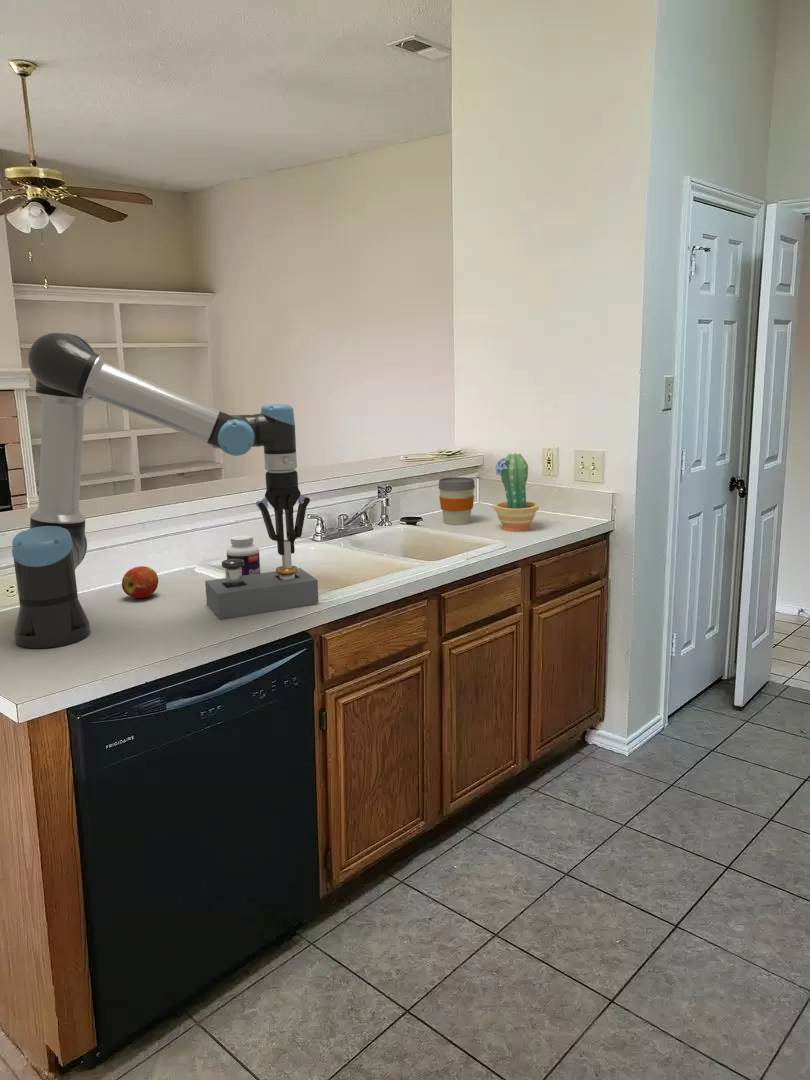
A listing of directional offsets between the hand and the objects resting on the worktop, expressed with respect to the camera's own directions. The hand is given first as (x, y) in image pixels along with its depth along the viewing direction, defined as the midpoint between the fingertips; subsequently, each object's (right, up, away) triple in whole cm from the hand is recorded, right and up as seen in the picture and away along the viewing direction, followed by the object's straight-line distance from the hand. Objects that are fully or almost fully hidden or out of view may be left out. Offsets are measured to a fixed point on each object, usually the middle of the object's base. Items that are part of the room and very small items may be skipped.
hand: (287, 567), depth 204 cm
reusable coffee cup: (+47, +12, +89) cm, 101 cm away
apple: (-37, -8, +7) cm, 39 cm away
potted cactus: (+66, +10, +77) cm, 102 cm away
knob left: (-12, -6, -4) cm, 14 cm away
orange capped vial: (0, -8, +2) cm, 8 cm away
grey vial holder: (-6, -9, -1) cm, 11 cm away
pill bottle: (-12, -7, +9) cm, 17 cm away
